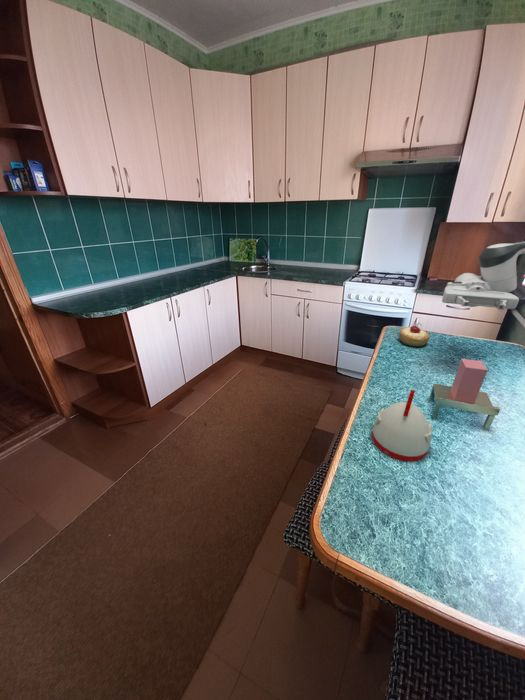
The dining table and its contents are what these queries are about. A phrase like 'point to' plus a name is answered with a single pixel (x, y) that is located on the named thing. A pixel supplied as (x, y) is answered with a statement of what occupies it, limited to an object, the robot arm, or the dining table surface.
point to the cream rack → (463, 403)
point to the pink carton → (468, 380)
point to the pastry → (414, 336)
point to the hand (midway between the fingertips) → (483, 305)
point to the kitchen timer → (402, 431)
